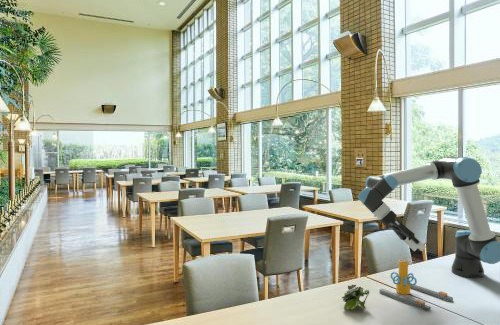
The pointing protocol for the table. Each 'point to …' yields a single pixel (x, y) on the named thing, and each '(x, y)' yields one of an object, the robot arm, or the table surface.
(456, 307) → the table surface
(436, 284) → the table surface
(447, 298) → the guide track
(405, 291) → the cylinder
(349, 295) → the passion flower
